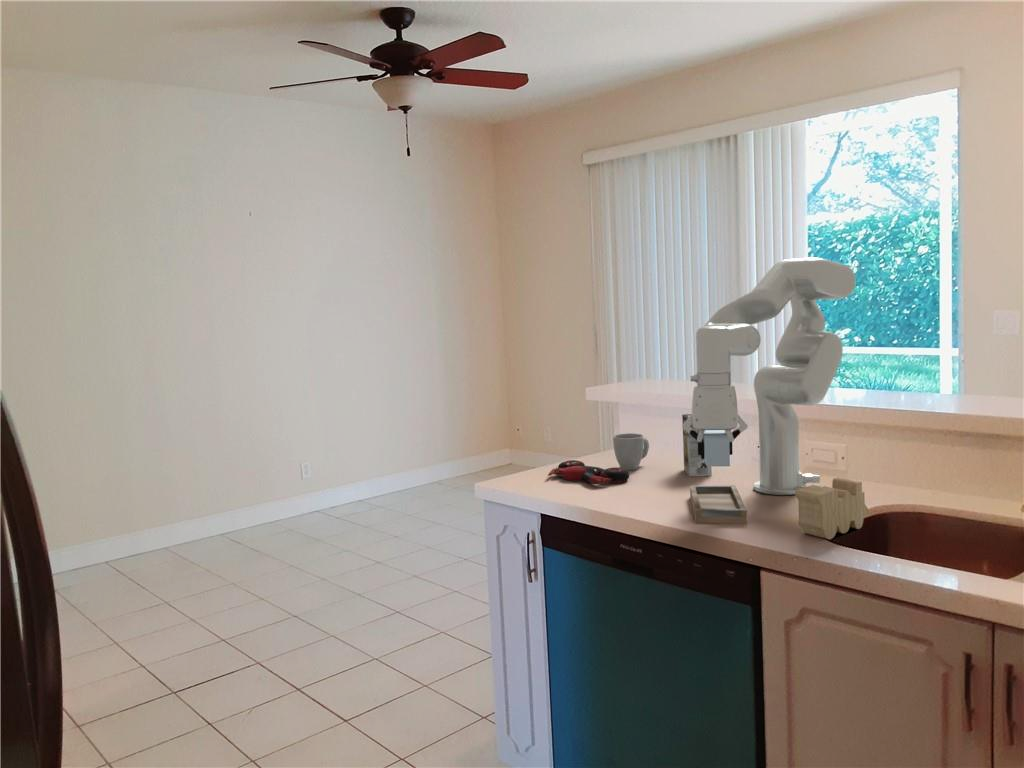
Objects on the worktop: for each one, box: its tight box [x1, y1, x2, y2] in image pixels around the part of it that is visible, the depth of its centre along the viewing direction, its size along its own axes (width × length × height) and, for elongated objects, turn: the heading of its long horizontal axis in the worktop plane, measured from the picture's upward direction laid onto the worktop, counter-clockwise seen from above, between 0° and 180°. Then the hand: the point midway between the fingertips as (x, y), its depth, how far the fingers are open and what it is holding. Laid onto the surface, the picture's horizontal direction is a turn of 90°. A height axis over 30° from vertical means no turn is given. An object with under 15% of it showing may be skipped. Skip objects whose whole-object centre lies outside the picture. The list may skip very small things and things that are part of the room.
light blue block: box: [703, 430, 731, 468], centre depth 181 cm, size 16×5×6 cm, turn 170°
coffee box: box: [681, 413, 713, 477], centre depth 220 cm, size 9×6×16 cm
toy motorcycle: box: [547, 459, 630, 485], centre depth 220 cm, size 25×5×16 cm
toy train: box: [794, 477, 870, 540], centre depth 163 cm, size 6×17×10 cm, turn 124°
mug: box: [612, 432, 650, 471], centre depth 231 cm, size 12×9×10 cm
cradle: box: [689, 484, 748, 525], centre depth 183 cm, size 22×11×3 cm, turn 170°
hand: (715, 457), depth 182 cm, fingers closed on light blue block, 5 cm apart
